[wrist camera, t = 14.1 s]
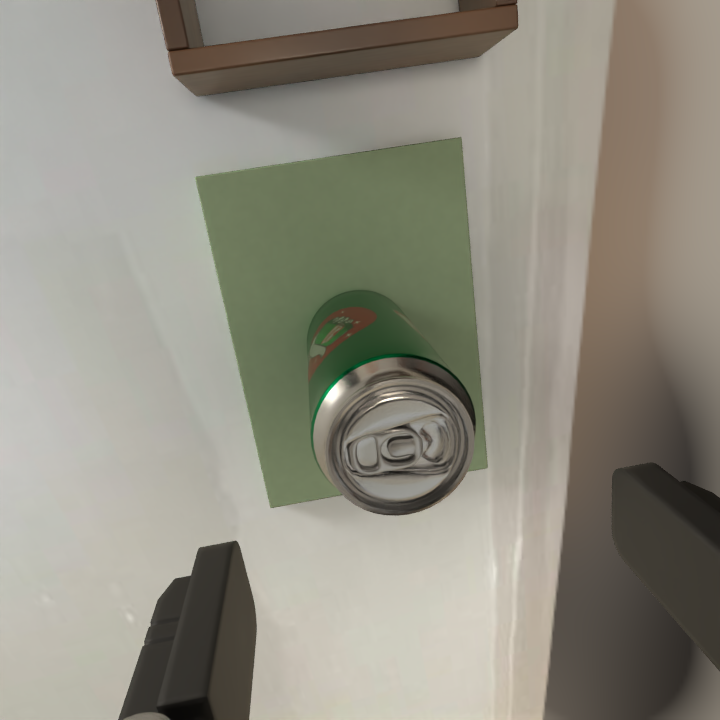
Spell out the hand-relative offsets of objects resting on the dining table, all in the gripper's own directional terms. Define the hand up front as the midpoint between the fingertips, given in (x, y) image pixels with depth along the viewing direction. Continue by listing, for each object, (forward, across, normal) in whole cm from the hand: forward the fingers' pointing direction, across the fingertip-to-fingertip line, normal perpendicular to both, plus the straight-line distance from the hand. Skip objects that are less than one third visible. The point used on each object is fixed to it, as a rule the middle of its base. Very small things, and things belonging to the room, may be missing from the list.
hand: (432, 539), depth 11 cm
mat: (+17, 0, 0) cm, 17 cm away
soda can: (+16, 0, 0) cm, 16 cm away
